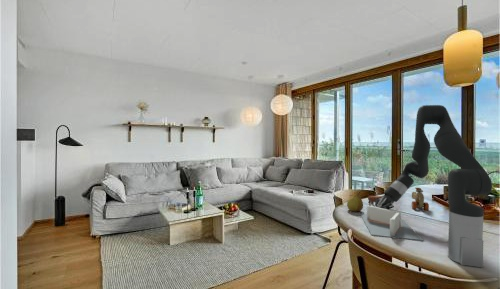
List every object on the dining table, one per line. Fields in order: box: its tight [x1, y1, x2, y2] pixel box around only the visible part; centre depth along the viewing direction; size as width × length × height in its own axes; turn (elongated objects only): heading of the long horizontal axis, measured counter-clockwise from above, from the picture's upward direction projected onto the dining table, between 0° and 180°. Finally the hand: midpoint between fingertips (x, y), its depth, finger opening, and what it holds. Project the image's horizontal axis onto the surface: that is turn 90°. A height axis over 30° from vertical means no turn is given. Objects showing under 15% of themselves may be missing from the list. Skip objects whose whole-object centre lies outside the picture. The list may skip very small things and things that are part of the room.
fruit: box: [346, 191, 364, 213], centre depth 148 cm, size 9×9×12 cm
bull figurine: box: [367, 194, 384, 207], centre depth 157 cm, size 4×13×8 cm, turn 78°
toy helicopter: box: [411, 187, 430, 211], centre depth 157 cm, size 8×21×14 cm, turn 158°
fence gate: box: [366, 205, 397, 224], centre depth 126 cm, size 14×2×7 cm, turn 41°
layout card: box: [359, 213, 425, 242], centre depth 122 cm, size 32×20×1 cm, turn 164°
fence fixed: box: [390, 211, 402, 236], centre depth 114 cm, size 16×2×8 cm, turn 139°
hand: (373, 214), depth 130 cm, fingers closed
